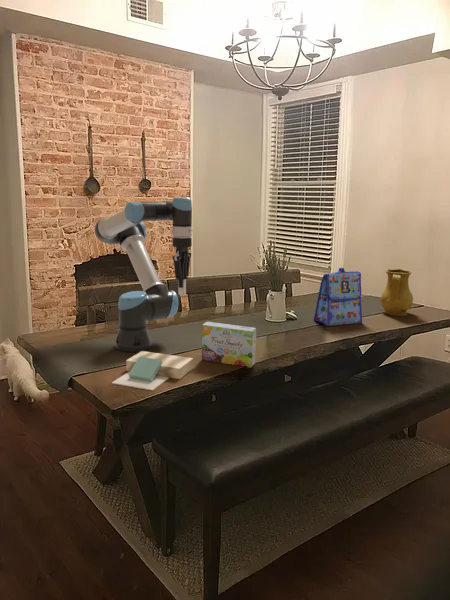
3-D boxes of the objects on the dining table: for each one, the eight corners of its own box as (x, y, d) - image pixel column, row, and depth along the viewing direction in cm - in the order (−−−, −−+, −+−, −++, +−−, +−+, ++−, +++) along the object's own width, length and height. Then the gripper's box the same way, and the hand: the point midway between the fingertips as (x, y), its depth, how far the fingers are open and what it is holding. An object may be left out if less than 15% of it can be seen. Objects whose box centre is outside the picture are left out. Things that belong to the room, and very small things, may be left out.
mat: (111, 383, 177) (111, 382, 177) (129, 372, 188) (129, 371, 188) (152, 390, 172) (152, 389, 172) (168, 378, 183) (168, 377, 183)
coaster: (129, 378, 181) (128, 374, 180) (140, 360, 188) (139, 356, 187) (151, 381, 178) (150, 378, 177) (162, 363, 185) (161, 359, 184)
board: (126, 370, 190) (126, 360, 189) (142, 360, 201) (141, 350, 200) (179, 379, 182) (179, 368, 181) (193, 368, 193) (193, 358, 192)
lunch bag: (328, 327, 253) (331, 270, 247) (312, 320, 266) (316, 266, 259) (362, 323, 262) (367, 268, 256) (346, 316, 274) (350, 264, 268)
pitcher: (419, 314, 282) (421, 269, 276) (397, 320, 272) (399, 274, 266) (393, 308, 296) (394, 266, 290) (372, 314, 286) (373, 270, 280)
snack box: (200, 360, 202) (201, 324, 199) (206, 356, 207) (206, 320, 204) (251, 368, 195) (252, 330, 191) (255, 363, 200) (257, 326, 197)
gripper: (183, 239, 194) (183, 299, 199) (197, 236, 206) (196, 292, 211) (166, 237, 196) (166, 297, 202) (180, 235, 208) (180, 291, 214)
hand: (182, 294), depth 206 cm, fingers closed
